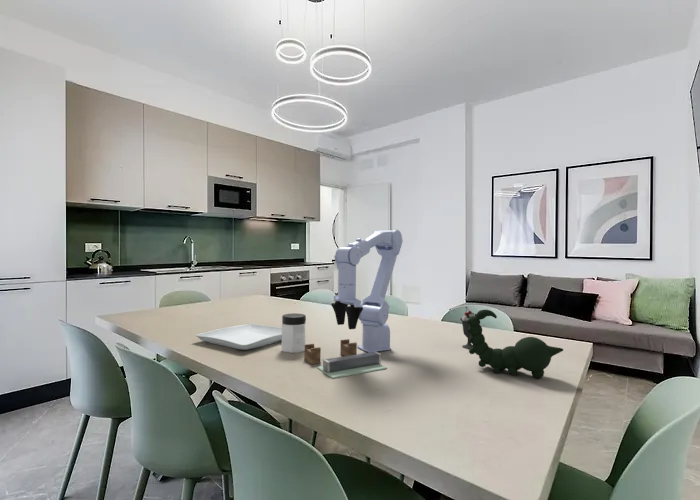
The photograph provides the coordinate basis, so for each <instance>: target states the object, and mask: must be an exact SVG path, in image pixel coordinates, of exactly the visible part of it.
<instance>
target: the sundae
mask: <svg viewBox="0 0 700 500" xmlns="http://www.w3.org/2000/svg"><path fill="white" fill-rule="evenodd" d="M467 310H468V306H465V312H464V315H463V316H462V317H461V318H460V319H459V320H460V321H461V323H462V332H463V335H464V336H465V337H466V338H467V340H468V339H469V338H470V336H471V334H470V333H469V332H468V331H467V329H468V328H469V326H470V325H469V324H468V323H467V320H468V319H469V318H470V317H471V316H476V315H477V313H474V312H472V310H468V312H467ZM472 346H473V344H472V343H469V342H468V341H467V343H466V344H465V345H464V344H463V345H462V346H461V347H462V348H463V349H467V350H470V349H471V348H472Z"/></svg>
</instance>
